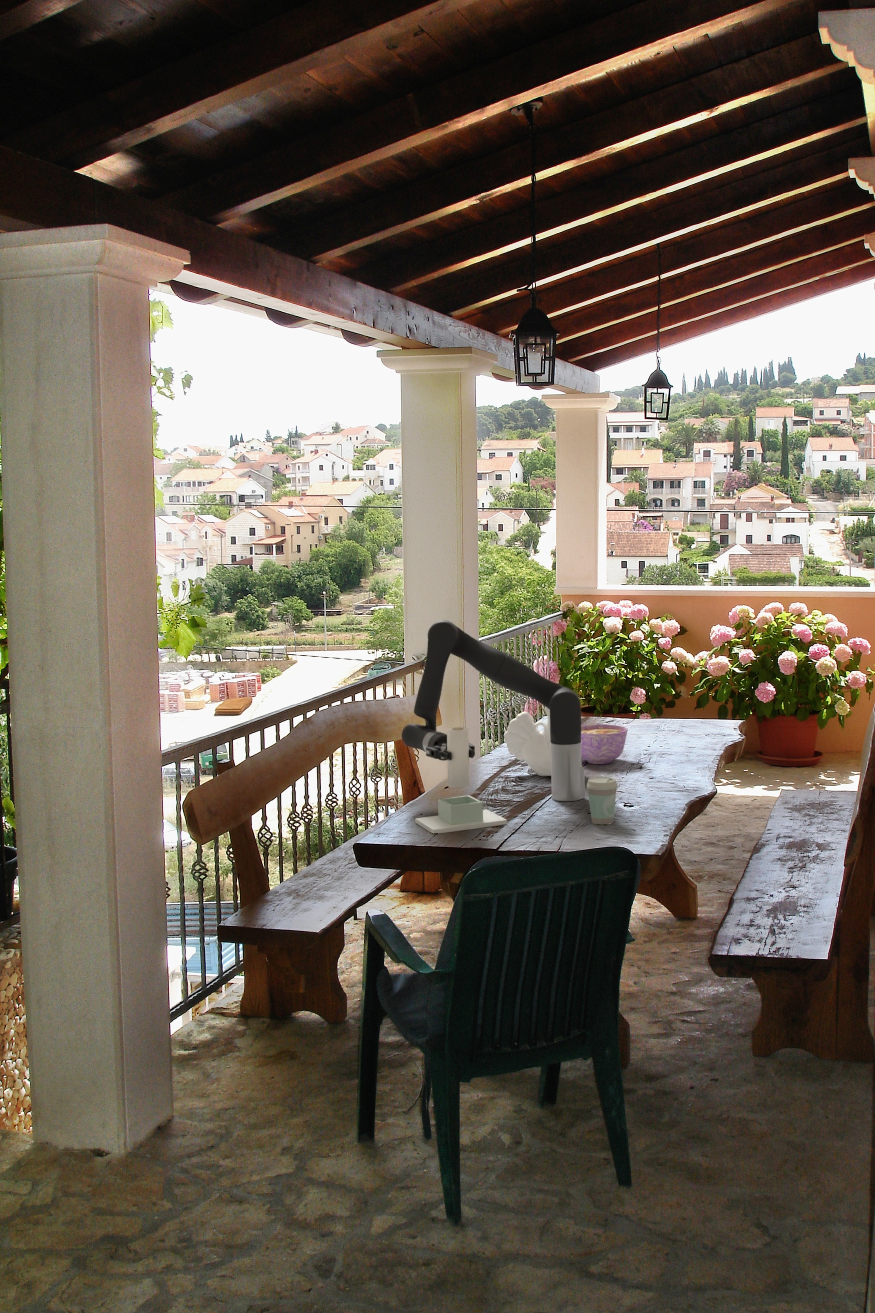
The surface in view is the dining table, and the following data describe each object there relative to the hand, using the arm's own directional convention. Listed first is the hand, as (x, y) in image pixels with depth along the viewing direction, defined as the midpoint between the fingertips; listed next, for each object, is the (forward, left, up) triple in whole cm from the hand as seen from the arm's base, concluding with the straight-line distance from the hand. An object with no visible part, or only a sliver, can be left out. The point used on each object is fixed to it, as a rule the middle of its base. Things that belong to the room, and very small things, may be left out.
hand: (461, 755), depth 308 cm
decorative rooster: (-50, -49, -20) cm, 73 cm away
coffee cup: (-35, +16, -20) cm, 43 cm away
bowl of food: (-76, -57, -20) cm, 97 cm away
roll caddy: (0, -2, -20) cm, 20 cm away
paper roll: (0, -3, -9) cm, 9 cm away
